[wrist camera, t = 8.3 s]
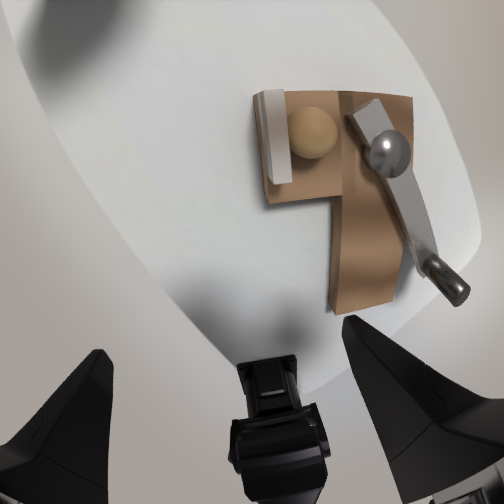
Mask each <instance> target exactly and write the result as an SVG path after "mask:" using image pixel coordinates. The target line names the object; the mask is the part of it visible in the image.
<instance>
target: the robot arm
mask: <svg viewBox="0 0 504 504" xmlns="http://www.w3.org/2000/svg"><path fill="white" fill-rule="evenodd" d="M342 339H343V342H344V346H345V349H346V352H347V356H348V359H349V362H350V366H351V369H352V372H353V375H354V377H355V380H356V382H357V385H358V387H359V389H360V391H361V394H362V397H363V399H364V401H365V404H366V406H367V409H368V411H369V414H370V416H371V419H372V421H373V424H374V426H375V429H376V431H377V434H378V436H379V439H380V441H381V444H382V447H383V450H384V452H385V455H386V457H387V460H388V462H389V466H390V469H391V472H392V474H393V477H394V480H395V483H396V486H397V489H398V492H399V495H400V498H401V501H402V503H403V504H408V503H411V502H414V501H417V500H420V499H423V498H425V497H428V496H430V495H432V497H433V499H432V500H431V501H430V502H429V504H504V399H489V398H485V397H481V396H479V395H477V394H475V393H473V392H472V391H470V390H468V389H466V388H464V387H462V386H460V385H459V384H457V383H455V382H453V381H452V380H450V379H448V378H446V377H445V376H443V375H442V374H440V373H438V372H437V371H436V370H434V369H433V368H431V367H430V366H428V365H427V364H426V365H425V363H424V362H423V361H421V360H420V359H418V358H417V357H415V356H414V355H412V354H411V353H410V352H408V351H407V350H405V349H404V348H403V347H401V346H399V345H398V344H397V343H395V342H394V341H393V340H391V339H390V338H388V337H387V336H385V335H384V334H383V333H381V332H380V331H378V330H377V329H375V328H374V327H373V326H371V325H370V324H368V323H367V322H365V321H364V320H362V319H361V318H360V317H358V316H357V315H350V316H346V317H344V320H343V326H342ZM113 370H114V366H113V363H112V361H111V359H110V358H109V357H108V355H107V354H106V352H105V351H104V350H103V349H94V350H93V351H92V352H91V353H90V354H89V355H88V356H87V357H86V358H85V359H84V360H83V361H82V362H81V363H80V364H79V366H78V367H77V368H76V369H75V370H74V371H73V372H72V373H71V374H70V376H68V377H67V379H66V380H65V381H64V382H63V383H62V384H61V385H60V386H59V387H58V389H57V390H56V391H55V392H54V393H53V394H52V395H51V396H50V398H49V399H48V400H47V401H46V402H45V403H44V405H43V407H41V408H40V409H39V410H38V411H37V413H36V414H35V415H34V416H33V417H32V418H31V419H30V420H29V421H28V422H27V424H26V425H25V426H24V427H23V428H22V429H21V430H20V431H19V432H18V433H17V434H16V435H15V436H14V437H13V438H12V439H11V440H10V441H8V442H7V443H6V444H4V445H1V446H0V504H108V452H109V435H110V422H111V412H112V401H113V372H114V371H113ZM237 371H238V375H239V378H240V382H241V385H242V388H243V391H244V394H245V395H246V400H247V408H248V417H249V418H247V419H240V420H237V419H235V420H232V426H231V430H230V450H229V454H228V461H229V462H230V463H232V464H233V466H234V469H235V471H236V473H237V474H241V477H242V481H243V486H244V493H245V494H246V496H247V497H248V498H249V499H250V500H251V501H252V502H257V503H259V504H316V502H317V500H318V497H319V495H320V493H321V491H322V489H323V488H324V485H325V482H326V479H327V476H328V472H327V468H326V464H325V460H324V458H327V457H330V456H331V453H330V448H329V443H328V439H327V435H326V432H325V429H324V426H323V423H322V420H321V417H320V414H319V411H318V408H317V405H316V403H311V404H310V405H307V406H303V407H302V405H301V401H300V397H299V393H298V389H297V359H296V356H294V355H291V356H286V357H280V358H275V359H269V360H263V361H257V362H250V363H244V364H239V365H237ZM310 425H313V426H310Z"/></svg>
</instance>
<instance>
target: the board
mask: <svg viewBox="0 0 504 504" xmlns="http://www.w3.org/2000/svg"><path fill="white" fill-rule="evenodd" d="M253 98H254V106H255V114H256V122H257V130H258V139H259V147H260V156H261V165H262V173H263V182H264V192H265V196H266V198H267V200H268V202H269V204H272V203H280V202H287V201H295V200H303V199H311V198H319V197H328V196H332V232H331V264H330V284H329V299H328V302H329V304H330V306H331V308H332V310H333V312H334V314H335V316H336V315H340V314H345V313H349V312H353V311H357V310H361V309H365V308H369V307H373V306H377V305H381V304H385V303H388V302H392V300H393V296H394V292H395V288H396V283H397V279H398V274H399V269H400V264H401V259H402V254H403V248H404V242H405V234H404V232H403V229H402V227H401V224H400V222H399V219H398V217H397V214H396V212H395V209H394V207H393V205H392V202H391V200H390V198H389V196H388V193H387V191H386V189H385V187H384V185H383V182H382V180H381V178H380V176H379V174H378V173H376V172H374V171H372V170H370V169H369V168H368V167H367V166H366V165H365V163H364V161H363V158H362V154H361V147H362V141H361V139H360V138H359V136H358V134H357V132H356V131H355V129H354V127H353V125H352V124H351V122H350V120H349V119H348V117H347V115H346V114H347V113H348V112H350V111H352V110H353V109H355V108H356V107H358V106H359V105H361V104H363V103H364V102H366V101H367V100H369V99H371V98H373V99H379V100H380V102H381V104H382V105H383V107H384V109H385V111H386V113H387V115H388V117H389V119H390V121H391V123H392V125H393V127H394V129H395V131H398V132H400V133H402V134H403V135H404V136H405V137H406V138H407V140H408V142H409V144H410V148H411V159H410V165H411V168H412V169H413V98H412V97H407V96H400V95H391V94H382V93H371V92H355V91H286V92H284V89H280V90H266V91H262V92H260V93H257V94H255V95H253Z"/></svg>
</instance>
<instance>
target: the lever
mask: <svg viewBox="0 0 504 504" xmlns="http://www.w3.org/2000/svg"><path fill="white" fill-rule="evenodd" d="M346 115H347V117H348V119H349V120H350V122H351V124H352V125H353V127H354V129H355V131H356V132H357V134H358V136H359V138H360V139H361V141H362V147H361V154H362V158H363V161H364V163H365V165H366V166H367V167H368V168H369V169H370V170H372V171H374V172H376V173H378V174H379V176H380V178H381V180H382V182H383V185H384V187H385V189H386V191H387V193H388V196H389V198H390V200H391V202H392V205H393V207H394V209H395V212H396V214H397V217H398V219H399V222H400V224H401V227H402V229H403V232H404V234H405V237H406V240H407V243H408V245H409V248H410V251H411V254H412V257H413V260H414V263H415V266H416V269H417V272H418V273H419V274H420V276H421V277H422V278H423V279H424V278H425V277H426V276H427V277H428V278H429V279H430V280H431V282H432V283H433V284H434V285H435V286H436V287H437V288H438V289H439V290H440V291H441V292H442V293H443V295H444V296H445V297H446V298H447V299H448V300H449V301H450V302H451V304H452V305H453V306H454V307H458V306H460V305H461V304H462V303H464V301H465V300H466V299H467V298H468V296H469V294H470V290H471V288H470V286H469V285H468V284H467V283H466V282H465V281H464V280H463V279H462V278H461V277H460V276H459V275H458V274H457V273H456V272H455V271H453V270H452V269H451V268H450V267H449V266H448V265H447V264H446V263H445V262H444V261H443V260H442V259H441V258H439V254H438V250H437V246H436V242H435V238H434V234H433V231H432V227H431V224H430V220H429V217H428V214H427V210H426V207H425V204H424V201H423V198H422V195H421V192H420V189H419V187H418V184H417V181H416V178H415V176H414V173H413V171H412V168H411V165H410V159H411V148H410V144H409V142H408V140H407V138H406V137H405V136H404V135H403V134H402V133H400V132H398V131H395V129H394V127H393V125H392V123H391V121H390V119H389V117H388V115H387V113H386V111H385V109H384V107H383V105H382V104H381V102H380V100H379V99H373V98H371V99H369V100H367V101H366V102H364V103H363V104H361V105H359V106H358V107H356V108H355V109H353V110H352V111H350V112H348V113H347V114H346Z"/></svg>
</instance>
